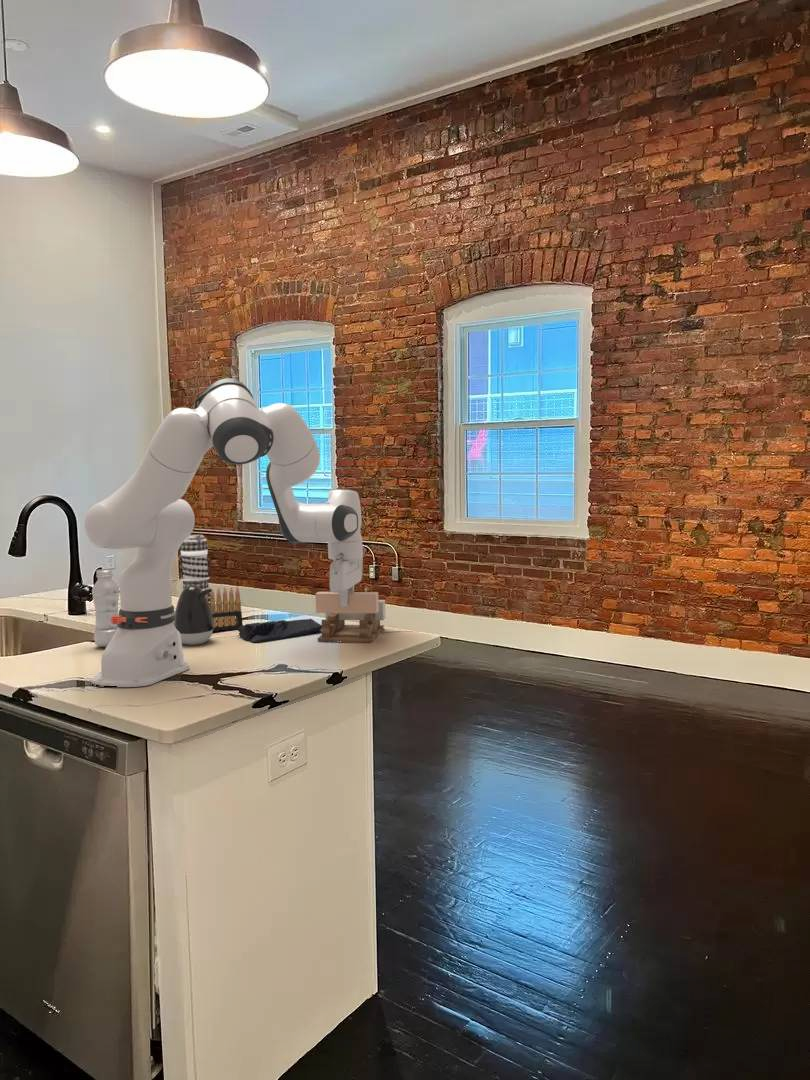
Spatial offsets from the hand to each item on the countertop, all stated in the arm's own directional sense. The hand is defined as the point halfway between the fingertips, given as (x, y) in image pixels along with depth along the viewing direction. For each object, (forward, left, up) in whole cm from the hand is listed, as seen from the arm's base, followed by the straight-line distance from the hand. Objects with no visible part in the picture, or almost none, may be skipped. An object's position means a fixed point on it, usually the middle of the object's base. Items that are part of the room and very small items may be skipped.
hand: (346, 604), depth 206 cm
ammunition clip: (+9, +38, -9) cm, 40 cm away
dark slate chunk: (+5, +20, -10) cm, 23 cm away
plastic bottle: (-13, +60, -9) cm, 62 cm away
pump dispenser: (-7, +39, -9) cm, 41 cm away
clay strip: (0, 0, -2) cm, 2 cm away
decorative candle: (+27, +54, -9) cm, 61 cm away
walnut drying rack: (+5, 0, -9) cm, 10 cm away
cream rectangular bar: (+9, 0, -6) cm, 11 cm away
